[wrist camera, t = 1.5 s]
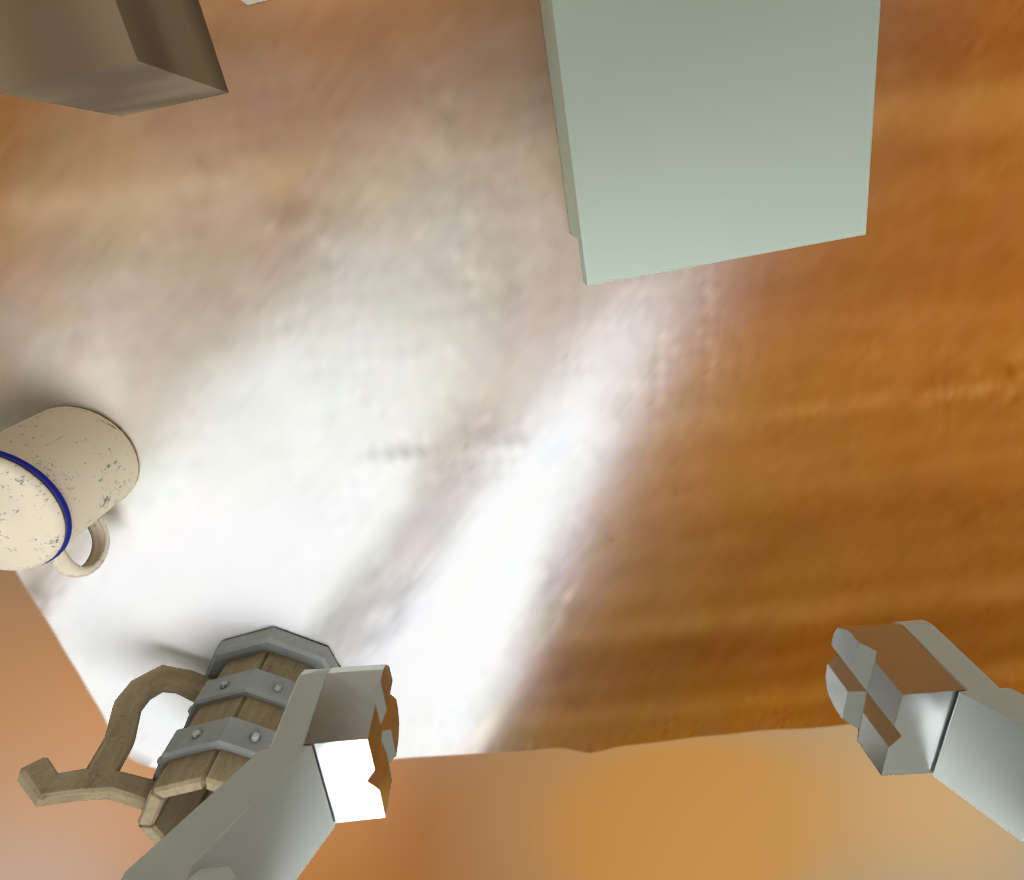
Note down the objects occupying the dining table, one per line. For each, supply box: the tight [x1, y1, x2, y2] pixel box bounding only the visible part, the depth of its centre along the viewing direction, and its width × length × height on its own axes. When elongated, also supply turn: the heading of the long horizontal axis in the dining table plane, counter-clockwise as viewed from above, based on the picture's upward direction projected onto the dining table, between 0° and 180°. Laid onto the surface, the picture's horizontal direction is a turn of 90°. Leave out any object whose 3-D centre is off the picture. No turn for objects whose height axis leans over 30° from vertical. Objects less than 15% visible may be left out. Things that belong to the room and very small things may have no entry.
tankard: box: [18, 627, 339, 845], centre depth 47 cm, size 20×13×15 cm, turn 63°
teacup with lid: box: [0, 406, 139, 578], centre depth 40 cm, size 12×9×12 cm
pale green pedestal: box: [540, 0, 881, 286], centre depth 28 cm, size 12×20×16 cm, turn 10°
